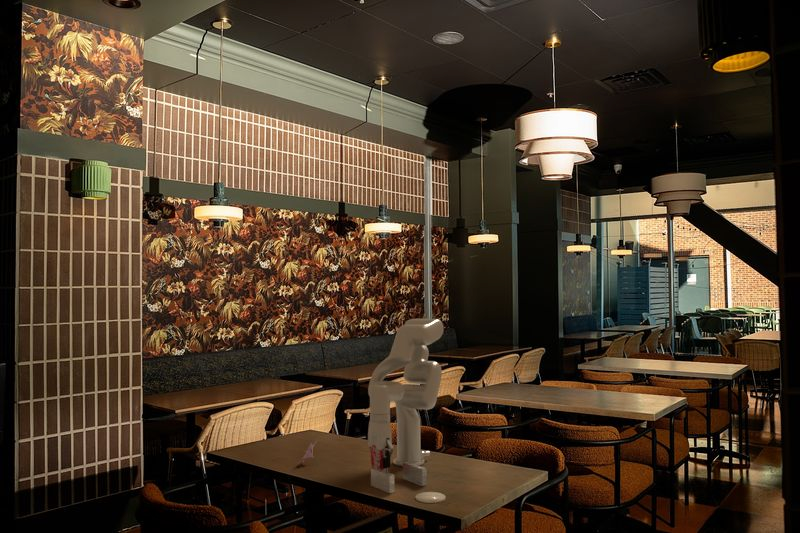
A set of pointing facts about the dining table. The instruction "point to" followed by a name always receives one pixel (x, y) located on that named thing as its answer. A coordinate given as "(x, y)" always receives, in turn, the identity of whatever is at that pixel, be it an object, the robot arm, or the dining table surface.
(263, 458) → the dining table surface
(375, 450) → the soda can
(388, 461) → the robot arm
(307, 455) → the lily
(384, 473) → the housing
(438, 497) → the saucer
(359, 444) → the dining table surface
